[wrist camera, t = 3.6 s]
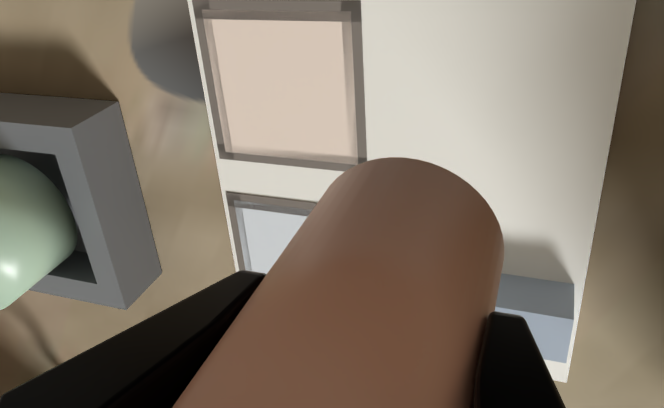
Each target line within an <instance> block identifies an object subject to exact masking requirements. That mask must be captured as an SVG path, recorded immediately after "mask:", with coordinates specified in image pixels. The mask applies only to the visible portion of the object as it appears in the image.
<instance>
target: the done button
mask: <svg viewBox="0 0 664 408" xmlns="http://www.w3.org/2000/svg"><path fill="white" fill-rule="evenodd" d="M76 244H77V226H76V222H75V218H74V216H73V213H72V211H71V209H70V207H69V205H68V203H67V201H66V200H65V198H64V196H63V195H62V194H61V192H60V191H59V189H58V188H57V187H56V186H55V185H54V184H53V182H52V181H51V180H50V179H49V178H47V177H46V176H45V175H44V174H43V173H42V172H41V171H39V170H38V169H37V168H35V167H34V166H32V165H31V164H29V163H27V162H26V161H24V160H21V159H19V158H17V157H14V156H11V155H6V154H0V310H1V309H4V308H6V307H8V306H9V305H10V304H11V303H13V302H14V301H15V300H16V299H18V298H19V297H20V296H21V295H22V294H24V293H25V292H26V291H27V290H29V289H30V288H31V287H32V286H33V285H35V284H36V283H37V282H38V281H40V280H41V279H42V278H43V277H44V276H46V275H47V274H48V273H49V272H51V271H52V270H53V269H54V268H55V267H57V266H58V265H59V264H60V263H62V262H63V261H64V260H65V259H66V258H68V257H69V256H70V255H71V254H72V252H73V251H74V249H75V247H76Z"/></svg>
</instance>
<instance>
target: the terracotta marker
mask: <svg viewBox="0 0 664 408" xmlns="http://www.w3.org/2000/svg"><path fill="white" fill-rule="evenodd" d="M503 261H504V240H503V234H502V231H501V228H500V225H499V222H498V220H497V218H496V216H495V214H494V212H493V210H492V209H491V207H490V206H489V204H488V203H487V201H486V200H485V199H484V198H483V197H482V196H481V195H480V193H479V192H478V191H477V190H476V189H474V188H473V187H472V186H471V185H470V184H469V183H468V182H466V181H465V180H463V179H462V178H461V177H459V176H458V175H456V174H454V173H452V172H451V171H449V170H447V169H445V168H443V167H440V166H438V165H435V164H433V163H429V162H426V161H422V160H418V159H411V158H404V157H388V158H379V159H374V160H370V161H366V162H363V163H361V164H358V165H356V166H354V167H352V168H350V169H348V170H346V171H345V172H344V173H342V174H341V175H340V176H339V177H337V178H336V179H335V180H334V181H333V183H332V184H331V185H330V186H329V187H328V189H327V190H326V192H325V193H324V194H323V196H322V197H321V199H320V200H319V201H318V203H317V204H316V206H315V207H314V208H313V210H312V211H311V213H310V214H309V216H308V217H307V218H306V220H305V221H304V223H303V224H302V225H301V227H300V228H299V230H298V231H297V232H296V234H295V235H294V237H293V238H292V239H291V241H290V242H289V244H288V245H287V247H286V248H285V249H284V251H283V252H282V254H281V255H280V256H279V258H278V259H277V261H276V262H275V263H274V265H273V266H272V268H271V269H270V270H269V272H268V273H267V275H266V276H265V277H264V279H263V280H262V282H261V283H260V285H259V286H258V287H257V289H256V290H255V292H254V293H253V294H252V296H251V297H250V299H249V300H248V301H247V303H246V304H245V306H244V307H243V308H242V310H241V311H240V313H239V314H238V315H237V317H236V318H235V320H234V321H233V323H232V324H231V325H230V327H229V328H228V330H227V331H226V332H225V334H224V335H223V337H222V338H221V339H220V341H219V342H218V344H217V345H216V346H215V348H214V349H213V351H212V352H211V353H210V355H209V356H208V358H207V359H206V361H205V362H204V363H203V365H202V366H201V368H200V369H199V370H198V372H197V373H196V375H195V376H194V377H193V379H192V380H191V382H190V383H189V384H188V386H187V387H186V389H185V390H184V392H183V393H182V394H181V396H180V397H179V399H178V400H177V401H176V403H175V404H174V406H173V407H172V408H473V397H474V384H475V376H476V370H477V365H478V361H479V356H480V351H481V347H482V342H483V338H484V333H485V329H486V324H487V320H488V316H489V314H490V313H491V312H493V311H495V306H496V301H497V295H498V290H499V284H500V278H501V273H502V267H503Z"/></svg>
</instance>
